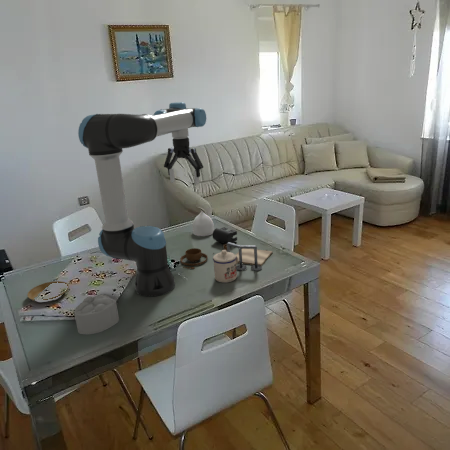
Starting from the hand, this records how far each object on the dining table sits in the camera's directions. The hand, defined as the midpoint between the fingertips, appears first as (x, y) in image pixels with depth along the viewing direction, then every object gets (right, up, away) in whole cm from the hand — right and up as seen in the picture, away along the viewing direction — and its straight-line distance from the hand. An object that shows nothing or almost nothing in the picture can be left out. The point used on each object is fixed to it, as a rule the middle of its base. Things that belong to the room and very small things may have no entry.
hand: (184, 183), depth 197 cm
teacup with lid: (+20, -40, -33) cm, 56 cm away
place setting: (+10, -36, -17) cm, 41 cm away
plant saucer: (-48, -47, -38) cm, 77 cm away
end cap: (+19, -29, 0) cm, 35 cm away
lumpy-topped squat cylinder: (-23, -53, -59) cm, 83 cm away
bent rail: (+26, -37, -26) cm, 52 cm away
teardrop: (+8, -24, +16) cm, 30 cm away
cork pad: (+31, -34, -17) cm, 49 cm away
